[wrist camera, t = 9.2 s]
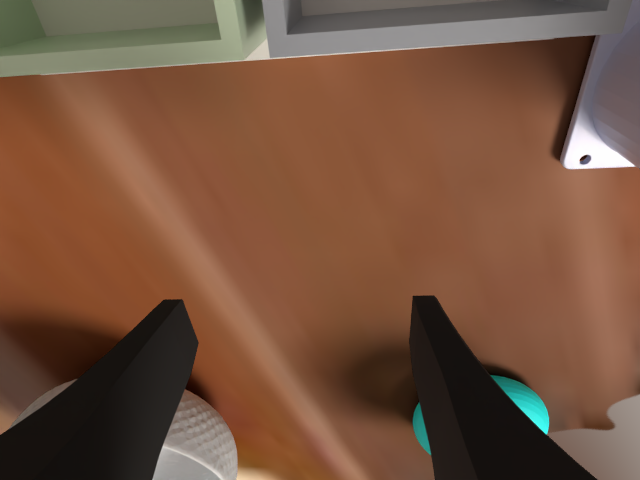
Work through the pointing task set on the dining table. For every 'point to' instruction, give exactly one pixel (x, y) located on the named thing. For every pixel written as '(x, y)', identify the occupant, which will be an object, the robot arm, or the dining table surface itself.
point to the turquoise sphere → (515, 390)
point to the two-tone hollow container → (271, 29)
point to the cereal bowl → (183, 440)
